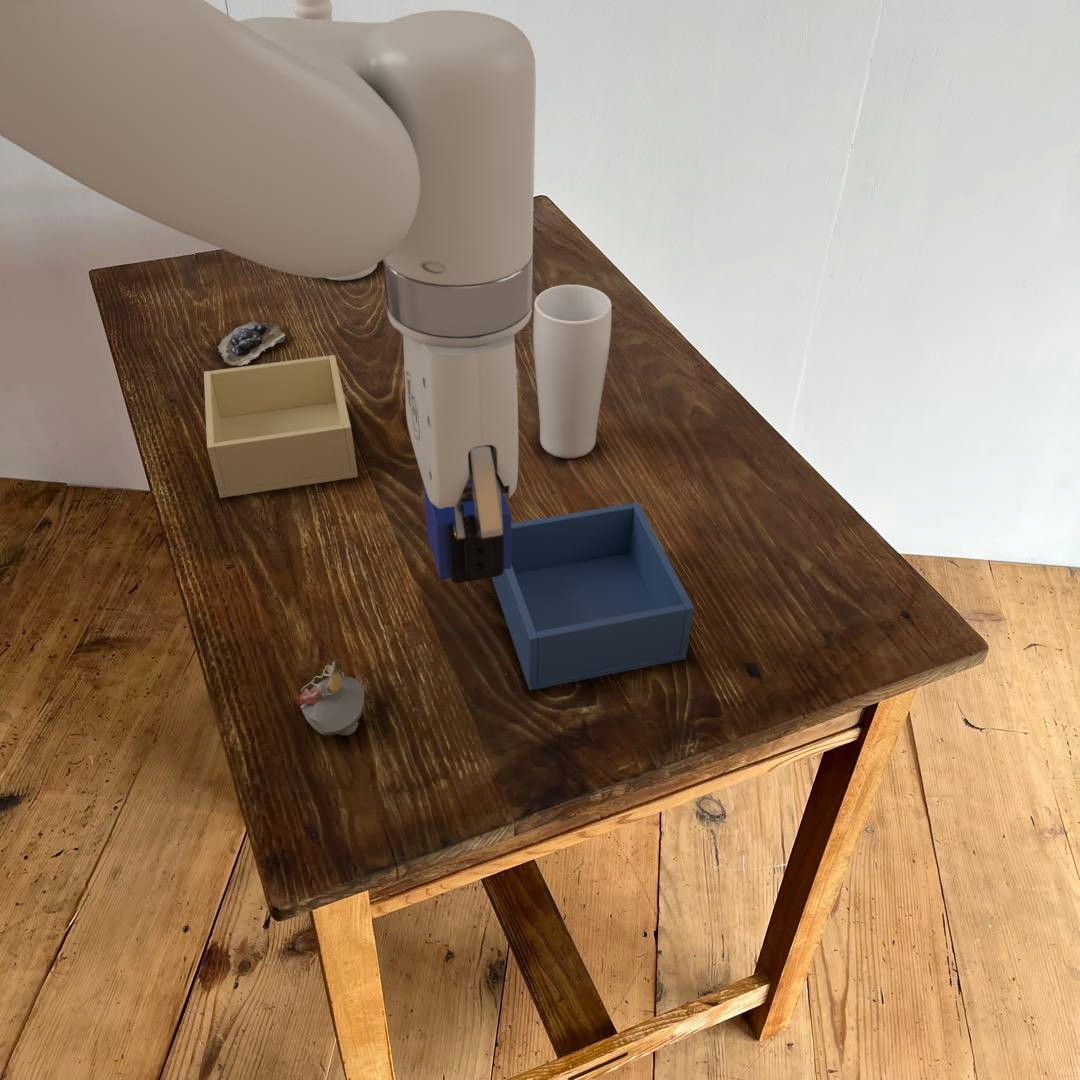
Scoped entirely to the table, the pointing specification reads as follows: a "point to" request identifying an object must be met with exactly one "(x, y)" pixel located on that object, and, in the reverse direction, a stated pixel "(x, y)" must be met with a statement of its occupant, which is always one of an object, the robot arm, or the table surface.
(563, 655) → the blue bin
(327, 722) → the figurine
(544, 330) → the drinking glass
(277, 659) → the table surface
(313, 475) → the cream bin
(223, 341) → the grey flat lumpy piece
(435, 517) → the blue block
